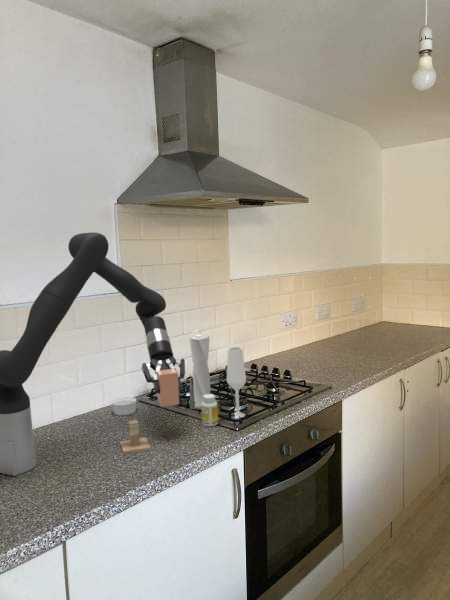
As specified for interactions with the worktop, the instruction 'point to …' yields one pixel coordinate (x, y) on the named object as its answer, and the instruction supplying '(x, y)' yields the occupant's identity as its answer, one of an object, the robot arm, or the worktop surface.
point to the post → (134, 440)
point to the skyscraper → (199, 369)
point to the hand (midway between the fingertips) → (169, 391)
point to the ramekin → (124, 405)
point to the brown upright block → (168, 387)
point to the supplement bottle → (209, 410)
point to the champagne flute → (236, 373)
